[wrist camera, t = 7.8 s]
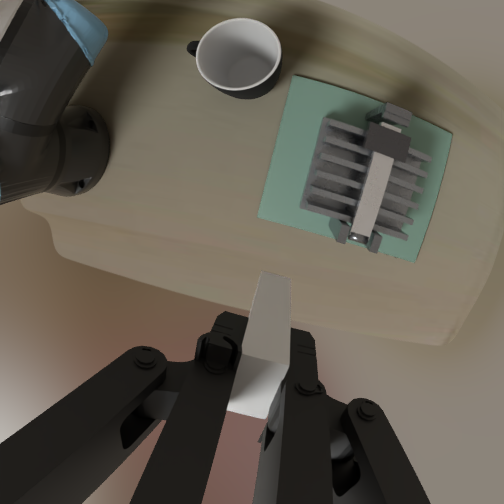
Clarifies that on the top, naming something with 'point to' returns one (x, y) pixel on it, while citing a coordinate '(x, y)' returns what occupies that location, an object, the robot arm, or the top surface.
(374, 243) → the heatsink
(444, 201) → the top surface
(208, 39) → the mug
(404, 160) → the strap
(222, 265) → the top surface
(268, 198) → the board
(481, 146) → the top surface
